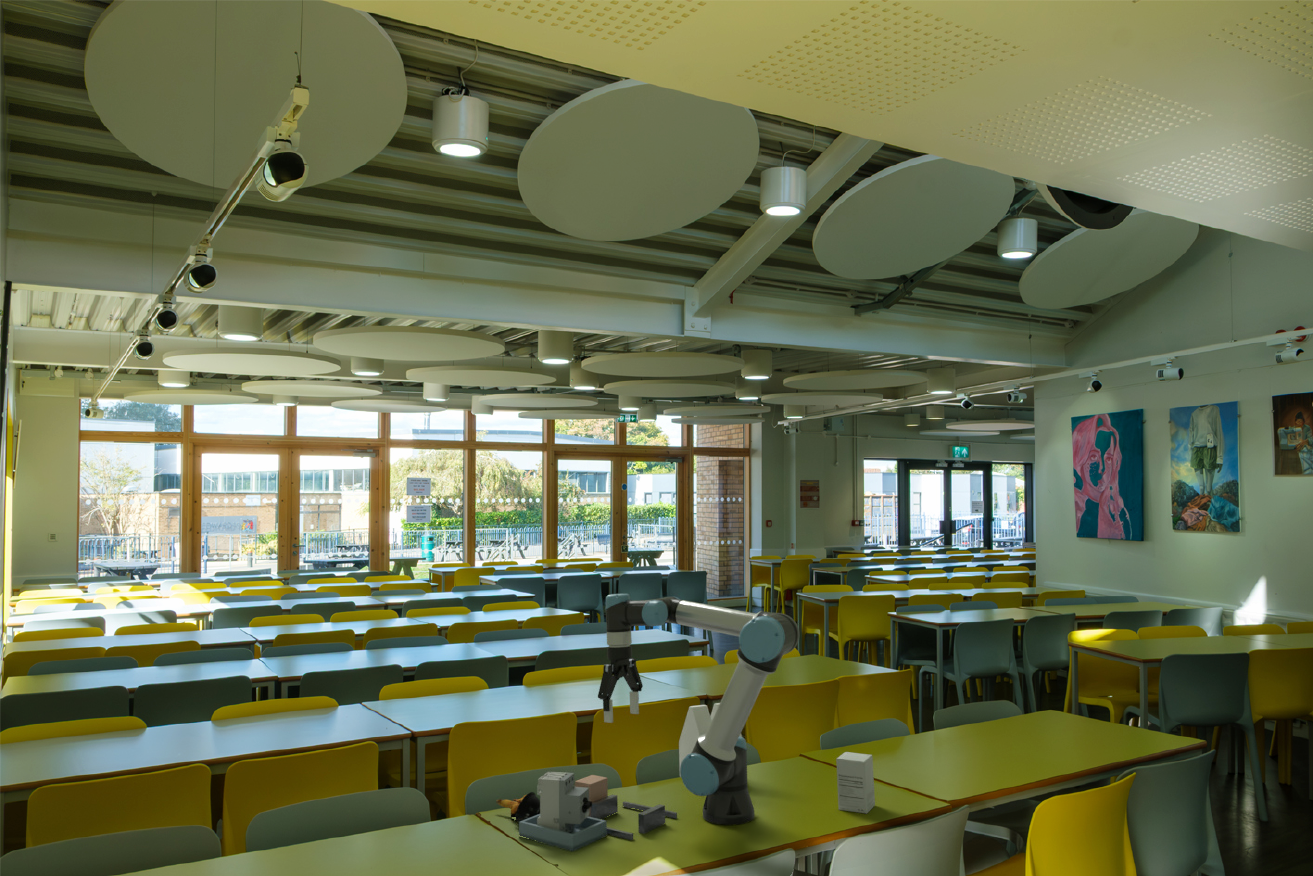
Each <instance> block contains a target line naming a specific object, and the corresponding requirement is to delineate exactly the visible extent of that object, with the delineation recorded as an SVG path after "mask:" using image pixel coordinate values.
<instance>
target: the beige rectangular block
mask: <svg viewBox="0 0 1313 876" xmlns="http://www.w3.org/2000/svg"><path fill="white" fill-rule="evenodd" d="M574 787H585V788H589V801H592V802H595V801H597V800H600V799H602V798H605V797H607V796H609V795H608V793H609V789H608V777H605V776H601V775H595V774H590V775H589V776H585V777H583V778H581V779H578V780H574ZM588 817H591V807H590V808H589V816H588Z"/></svg>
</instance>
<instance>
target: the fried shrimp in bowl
mask: <svg viewBox="0 0 1313 876" xmlns="http://www.w3.org/2000/svg"><path fill="white" fill-rule="evenodd" d="M537 796H538V795H537V793H535V792H534V791H530V792H528V793H526V794H525V795H523V796H522V797H521V798H519V799H517V798H515V799H514V798H513V799H512V800H510V799H501V798H500V799H496V804H497V805H499V806H501V807H503V808H505V809H510V818H511V817H516V820H517V821H516V822H518V823H519V822H520V821H523V820H525V819H528V818H530V817H533V816H535V815H538V814H540V798H539V797H537Z"/></svg>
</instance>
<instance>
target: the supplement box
mask: <svg viewBox="0 0 1313 876" xmlns="http://www.w3.org/2000/svg"><path fill="white" fill-rule="evenodd" d="M873 760H874V759H873V755H872V754H866V753H858V752H849V751H845V752H843V753H842V754H840V755H839V756H838V757H836V777H837V778H836V782H837V801H838V802H837V803H838V804H837V805H838V810H839V811H846V812H847V811H848V812H854V813H861V814H868V813H870V811H871V810H872V809H873V808H874V807H875V805H876V799H875V780H874V762H873Z"/></svg>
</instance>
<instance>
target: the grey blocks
mask: <svg viewBox="0 0 1313 876" xmlns="http://www.w3.org/2000/svg"><path fill="white" fill-rule="evenodd" d="M618 805H619V804H618V795H617V794H609V795H608V796H607V797H605V798H602V799H600V800H597V801H595V802H592V806H591V817H592V818H597V819H602V820H604V819H603V818H605V817H607V816H609V815H612V814H614V813H616V812H619V811H618V809H619V808H618V807H619V806H618ZM623 806H624V807H627V808H626V809H629V808H635V809H639V810H643V812H642V811H640V812H639V813H638V815H637V817H638V818H637V819H638V822H637V823H638V833H639V834H644V835H645V834H647V833H649V832H651V831H653V830H655V829H657V828H659V827H662V826H663V825H665V824H666V818H669V817H670V819H674V820H676V819H678V812H676V811H672V810H667V809H666V806H665V805H664V804H657V805H655V806H650V805H649V806H648V805H644V804H639V803H634V802H629V801H626V800H625V801H623V802H622V807H623ZM624 807H623V808H624ZM616 814H617V813H616ZM614 815H615V814H614ZM612 816H613V815H612ZM665 816H667V817H665ZM609 817H610V816H609ZM607 818H608V817H607ZM605 819H606V818H605ZM664 823H665V824H664ZM608 834H611V835H610V836H612V835H613V836H612V837H616V836H617V838H620V839H625V840H628V841H632V840H634V833H633V832H628V831H625V830H621V829H617V828H612V827H608V826H607V835H608Z"/></svg>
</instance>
